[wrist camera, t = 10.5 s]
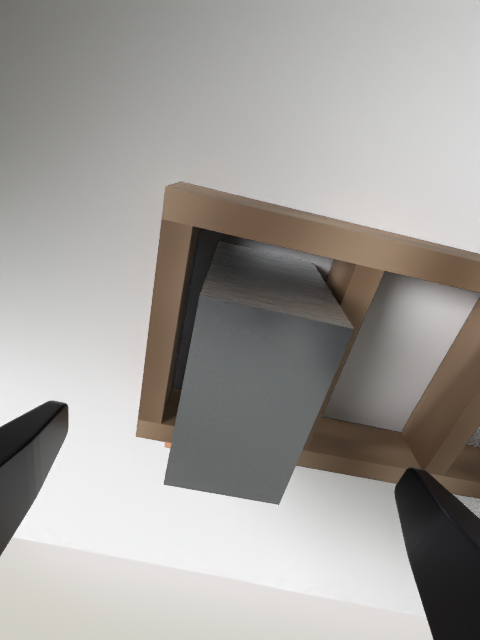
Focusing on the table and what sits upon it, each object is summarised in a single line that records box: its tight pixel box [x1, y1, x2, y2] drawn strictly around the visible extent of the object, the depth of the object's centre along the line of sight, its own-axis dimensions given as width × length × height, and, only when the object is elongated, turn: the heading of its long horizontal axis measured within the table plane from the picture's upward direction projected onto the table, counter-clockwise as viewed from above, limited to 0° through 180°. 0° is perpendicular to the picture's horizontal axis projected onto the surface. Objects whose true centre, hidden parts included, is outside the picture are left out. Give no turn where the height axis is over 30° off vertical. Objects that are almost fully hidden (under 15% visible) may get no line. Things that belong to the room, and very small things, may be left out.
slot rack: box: [136, 182, 480, 499], centre depth 15 cm, size 21×11×2 cm, turn 77°
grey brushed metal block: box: [164, 241, 354, 505], centre depth 13 cm, size 4×7×6 cm, turn 167°
